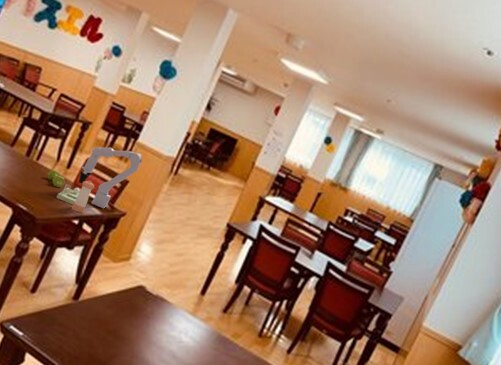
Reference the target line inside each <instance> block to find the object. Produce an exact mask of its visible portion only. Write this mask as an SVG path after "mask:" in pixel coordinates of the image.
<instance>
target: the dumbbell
mask: <svg viewBox="0 0 501 365" xmlns="http://www.w3.org/2000/svg"><path fill="white" fill-rule="evenodd" d="M47 178H48V180H50V181H52V185H53V186H54V187H57V188H61V187H63V186H64V185H66V183H65V182H66V181H65V178H64V177H63V176H61V175H60V172H59V170H56V169H51V170H50V171H49V172H47Z"/></svg>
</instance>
